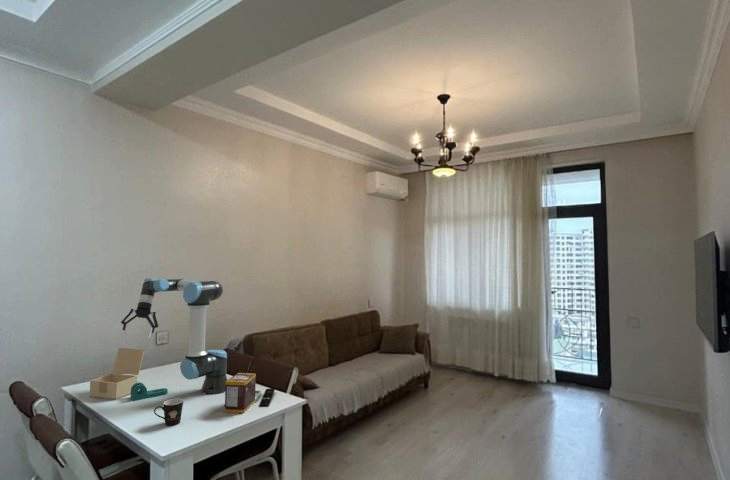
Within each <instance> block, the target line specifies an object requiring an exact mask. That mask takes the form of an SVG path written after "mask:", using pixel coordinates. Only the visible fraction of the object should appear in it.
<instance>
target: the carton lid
mask: <svg viewBox="0 0 730 480" xmlns="http://www.w3.org/2000/svg"><path fill="white" fill-rule="evenodd" d="M144 354H145V349H137V348H125V347H119V348H118V350H117V354H116V357H115V358H116V359H115V362H114V366H113V368H112V369H113V370H112V373H113V374H123V375H133V376H140V371H141V367H142V362H143V358H144Z"/></svg>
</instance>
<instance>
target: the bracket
mask: <svg viewBox="0 0 730 480" xmlns="http://www.w3.org/2000/svg"><path fill="white" fill-rule="evenodd" d="M168 392H169V390H168V388H166V387H164V388H162V387H161V388H156V389H150V390H148V389H147V387H146V385H145V384H144V383H143V382H138V381H137V383H135V384H134V385H133V386H132V387H131V394H130V400H131V401H132V402H136V401H141V400H146V399H152V398H157V397H162V396H166V395H168Z"/></svg>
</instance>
